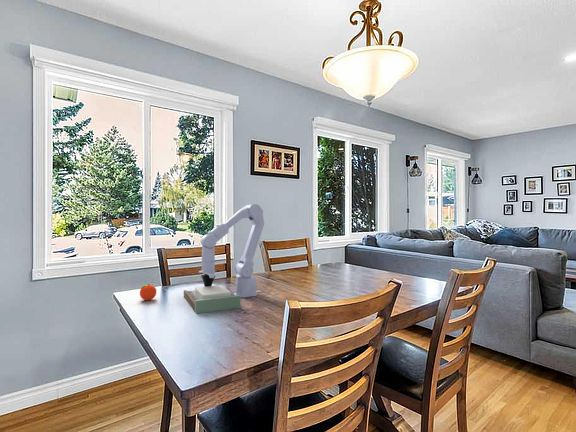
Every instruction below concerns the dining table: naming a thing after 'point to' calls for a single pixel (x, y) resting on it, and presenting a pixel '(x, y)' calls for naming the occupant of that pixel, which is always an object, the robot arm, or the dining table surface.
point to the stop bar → (217, 303)
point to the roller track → (191, 298)
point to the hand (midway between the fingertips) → (207, 290)
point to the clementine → (147, 292)
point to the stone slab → (211, 292)
